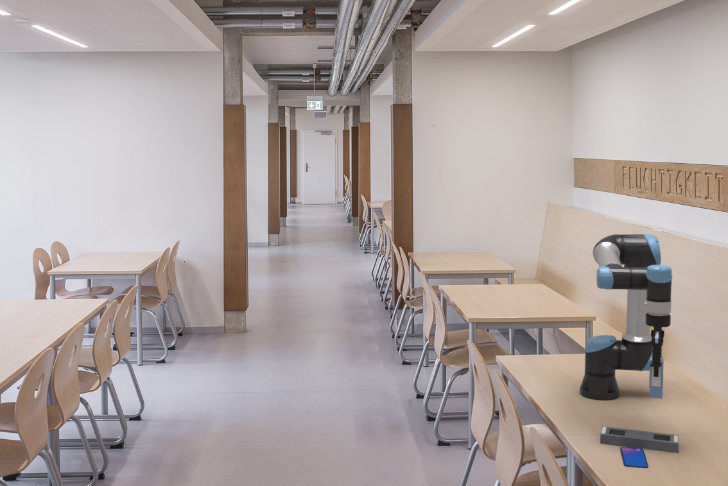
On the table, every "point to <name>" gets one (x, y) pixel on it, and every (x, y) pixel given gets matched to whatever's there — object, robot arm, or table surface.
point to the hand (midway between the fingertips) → (656, 383)
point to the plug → (654, 390)
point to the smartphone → (633, 457)
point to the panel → (639, 439)
